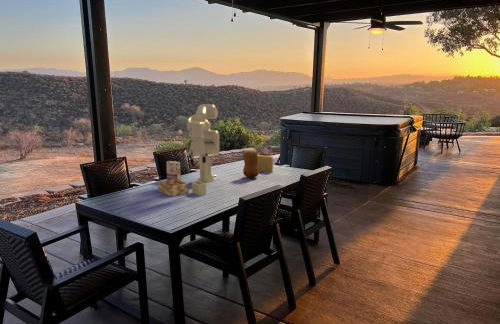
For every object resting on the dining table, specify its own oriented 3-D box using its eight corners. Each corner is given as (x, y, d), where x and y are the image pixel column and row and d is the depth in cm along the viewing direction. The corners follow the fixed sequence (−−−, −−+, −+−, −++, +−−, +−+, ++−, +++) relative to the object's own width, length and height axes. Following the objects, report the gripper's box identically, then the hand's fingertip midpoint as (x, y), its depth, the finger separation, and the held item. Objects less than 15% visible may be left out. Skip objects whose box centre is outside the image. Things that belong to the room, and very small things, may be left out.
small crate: (199, 191, 263) (199, 181, 262) (206, 194, 256) (205, 183, 254) (192, 192, 260) (191, 182, 258) (198, 195, 252) (198, 185, 251)
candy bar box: (181, 181, 293) (180, 161, 290) (177, 182, 289) (176, 162, 286) (170, 179, 298) (169, 160, 295) (166, 181, 294) (165, 161, 291)
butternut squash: (252, 175, 315) (252, 147, 310) (262, 178, 305) (262, 149, 300) (239, 177, 307) (239, 149, 302) (249, 180, 296) (249, 151, 292)
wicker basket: (176, 187, 273) (176, 178, 272) (188, 193, 259) (188, 183, 257) (158, 190, 264) (158, 181, 263) (169, 196, 250) (169, 187, 248)
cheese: (275, 172, 330) (275, 156, 328) (269, 173, 323) (269, 157, 321) (257, 168, 345) (257, 153, 342) (251, 170, 338) (251, 154, 335)
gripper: (205, 138, 258) (205, 161, 262) (184, 140, 248) (184, 164, 251) (210, 139, 253) (211, 162, 256) (189, 141, 242) (189, 165, 245)
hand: (198, 163), depth 254 cm, fingers open, 9 cm apart
